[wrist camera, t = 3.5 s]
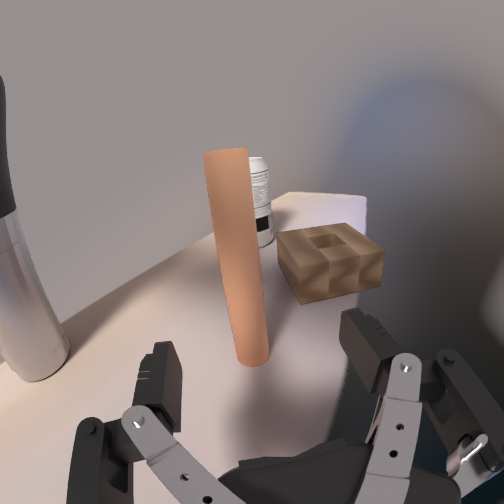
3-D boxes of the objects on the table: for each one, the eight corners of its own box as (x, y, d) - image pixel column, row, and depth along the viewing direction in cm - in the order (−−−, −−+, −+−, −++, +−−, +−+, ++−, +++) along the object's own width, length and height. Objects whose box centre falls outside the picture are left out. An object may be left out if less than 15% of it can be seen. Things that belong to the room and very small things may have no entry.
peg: (239, 368, 23) (201, 154, 15) (236, 347, 26) (203, 152, 18) (272, 362, 23) (250, 147, 16) (266, 341, 26) (244, 146, 18)
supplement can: (230, 254, 46) (218, 164, 40) (228, 237, 54) (218, 161, 48) (278, 247, 47) (270, 158, 41) (269, 231, 54) (261, 155, 48)
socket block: (300, 304, 31) (299, 266, 29) (278, 264, 41) (276, 232, 39) (380, 286, 32) (384, 250, 30) (344, 252, 42) (345, 222, 40)
